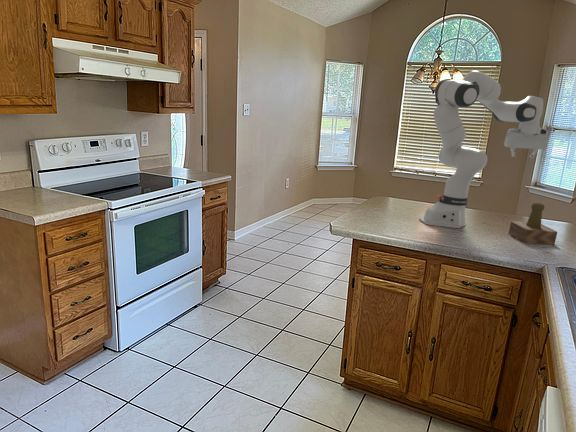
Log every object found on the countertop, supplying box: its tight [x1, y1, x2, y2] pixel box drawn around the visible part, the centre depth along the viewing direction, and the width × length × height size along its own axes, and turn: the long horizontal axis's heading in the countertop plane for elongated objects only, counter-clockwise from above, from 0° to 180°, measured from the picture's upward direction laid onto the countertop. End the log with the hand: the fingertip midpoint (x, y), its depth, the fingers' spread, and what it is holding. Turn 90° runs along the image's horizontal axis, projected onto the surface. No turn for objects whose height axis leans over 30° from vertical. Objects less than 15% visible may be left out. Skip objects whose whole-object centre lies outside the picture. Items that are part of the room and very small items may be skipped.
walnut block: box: [508, 221, 558, 245], centre depth 197 cm, size 14×14×6 cm
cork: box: [526, 202, 545, 228], centre depth 196 cm, size 6×6×11 cm
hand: (522, 157), depth 215 cm, fingers open, 8 cm apart
